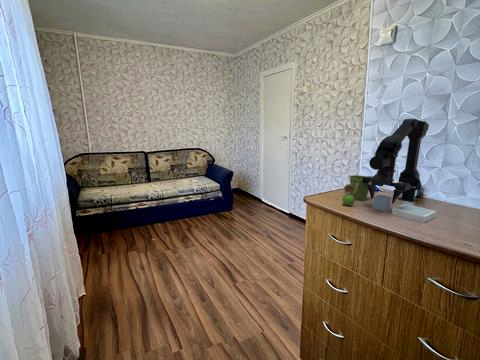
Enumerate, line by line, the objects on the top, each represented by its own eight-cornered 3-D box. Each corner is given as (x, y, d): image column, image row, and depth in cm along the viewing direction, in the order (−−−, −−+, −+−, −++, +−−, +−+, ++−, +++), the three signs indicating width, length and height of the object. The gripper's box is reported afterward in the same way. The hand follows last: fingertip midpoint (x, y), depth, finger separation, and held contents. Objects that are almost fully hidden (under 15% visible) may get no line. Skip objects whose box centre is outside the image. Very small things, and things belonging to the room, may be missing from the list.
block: (378, 206, 116) (380, 194, 115) (389, 209, 112) (391, 196, 111) (372, 208, 113) (374, 195, 112) (383, 211, 109) (385, 198, 108)
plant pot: (344, 199, 127) (347, 178, 124) (348, 194, 137) (350, 174, 134) (370, 203, 121) (373, 181, 118) (372, 197, 130) (374, 176, 128)
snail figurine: (357, 207, 114) (360, 182, 111) (343, 206, 115) (345, 181, 113) (354, 203, 119) (357, 180, 116) (340, 203, 120) (343, 179, 118)
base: (404, 208, 113) (405, 203, 112) (435, 216, 103) (436, 211, 102) (391, 213, 106) (392, 208, 106) (423, 222, 96) (424, 216, 96)
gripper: (357, 166, 112) (353, 198, 115) (401, 172, 97) (395, 210, 100) (370, 164, 118) (366, 195, 121) (413, 170, 103) (407, 205, 106)
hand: (382, 201), depth 112 cm, fingers open, 9 cm apart
